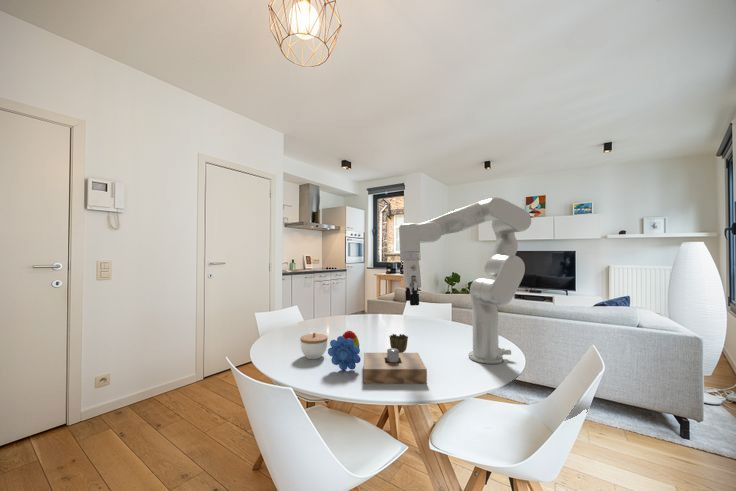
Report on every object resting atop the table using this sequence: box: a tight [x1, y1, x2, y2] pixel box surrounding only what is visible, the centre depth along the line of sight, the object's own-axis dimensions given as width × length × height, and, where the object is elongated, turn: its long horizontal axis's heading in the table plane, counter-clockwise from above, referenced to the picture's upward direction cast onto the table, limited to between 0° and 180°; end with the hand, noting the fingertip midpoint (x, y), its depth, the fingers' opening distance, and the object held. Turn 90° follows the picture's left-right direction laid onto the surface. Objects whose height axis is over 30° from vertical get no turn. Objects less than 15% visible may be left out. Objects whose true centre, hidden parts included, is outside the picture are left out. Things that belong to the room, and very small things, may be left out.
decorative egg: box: [342, 330, 360, 348], centre depth 121 cm, size 8×8×10 cm
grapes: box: [327, 335, 361, 371], centre depth 105 cm, size 12×7×12 cm, turn 90°
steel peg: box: [386, 347, 399, 363], centre depth 103 cm, size 4×4×8 cm
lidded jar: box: [299, 332, 329, 360], centre depth 120 cm, size 11×11×9 cm
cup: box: [389, 333, 409, 353], centre depth 121 cm, size 8×7×8 cm
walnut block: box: [363, 352, 428, 385], centre depth 103 cm, size 20×16×4 cm
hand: (412, 302), depth 111 cm, fingers open, 9 cm apart
